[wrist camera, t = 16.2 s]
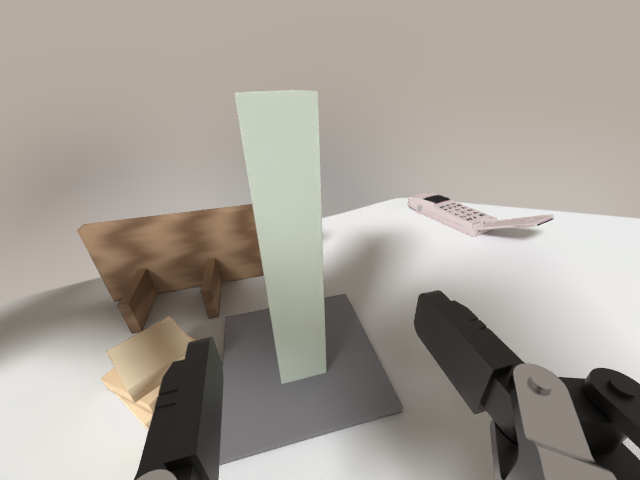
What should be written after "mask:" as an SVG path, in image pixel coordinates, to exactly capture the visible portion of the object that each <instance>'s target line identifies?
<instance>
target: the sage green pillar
mask: <svg viewBox="0 0 640 480" xmlns="http://www.w3.org/2000/svg"><path fill="white" fill-rule="evenodd" d="M235 100H236V106H237V112H238V118H239V124H240V131H241V137H242V143H243V149H244V155H245V162H246V168H247V174H248V179H249V186H250V192H251V199H252V205H253V211H254V217H255V223H256V229H257V236H258V242H259V248H260V254H261V260H262V266H263V273H264V279H265V285H266V291H267V297H268V303H269V310H270V316H271V322H272V328H273V334H274V340H275V347H276V353H277V359H278V365H279V371H280V377H281V383H282V384H284V383H288V382H292V381H296V380H299V379H303V378H307V377H311V376H315V375H319V374H323V373H326V341H325V309H324V278H323V246H322V214H321V183H320V152H319V122H318V120H319V119H318V92H317V91H304V90H282V91H258V92H236V93H235Z"/></svg>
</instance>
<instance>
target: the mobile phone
mask: <svg viewBox="0 0 640 480" xmlns="http://www.w3.org/2000/svg"><path fill="white" fill-rule="evenodd" d="M408 200H409V202H408V206H410V207H411V208H412V209H414V210H416V211H417V213H418V214H423V215H425V216H427V217H429V218H432V219H434V220H436V221H438V222H440V223H443V224H445V225H447V226H449V227H452V228H454V229H456V230H458V231H461V232H463V233H465V234H468V235H470V236H472V237H476V236H478V235H481V234H483V233H486V232H488V231H491V230H492V229H501V228H519V227H532V226H538V225H541V224H543V223H546V222H548V221H550V220H552V219H554V215H553V214H552V215H540V216H533V217H524V218H514V219H505V220H497V218H495V217H493V218H492V216H489V215H487V214H484V213H482V212H479V211H477V210H474V209H472V208H469V207H467V206H464V205H462V204H459V203H457V202H455V201H453V200H452V199H451V198H448V197H445V196H442V195H439V194H435V193H428V192H427V193H422V194H418V195H414V196H410V197H409V199H408Z"/></svg>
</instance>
